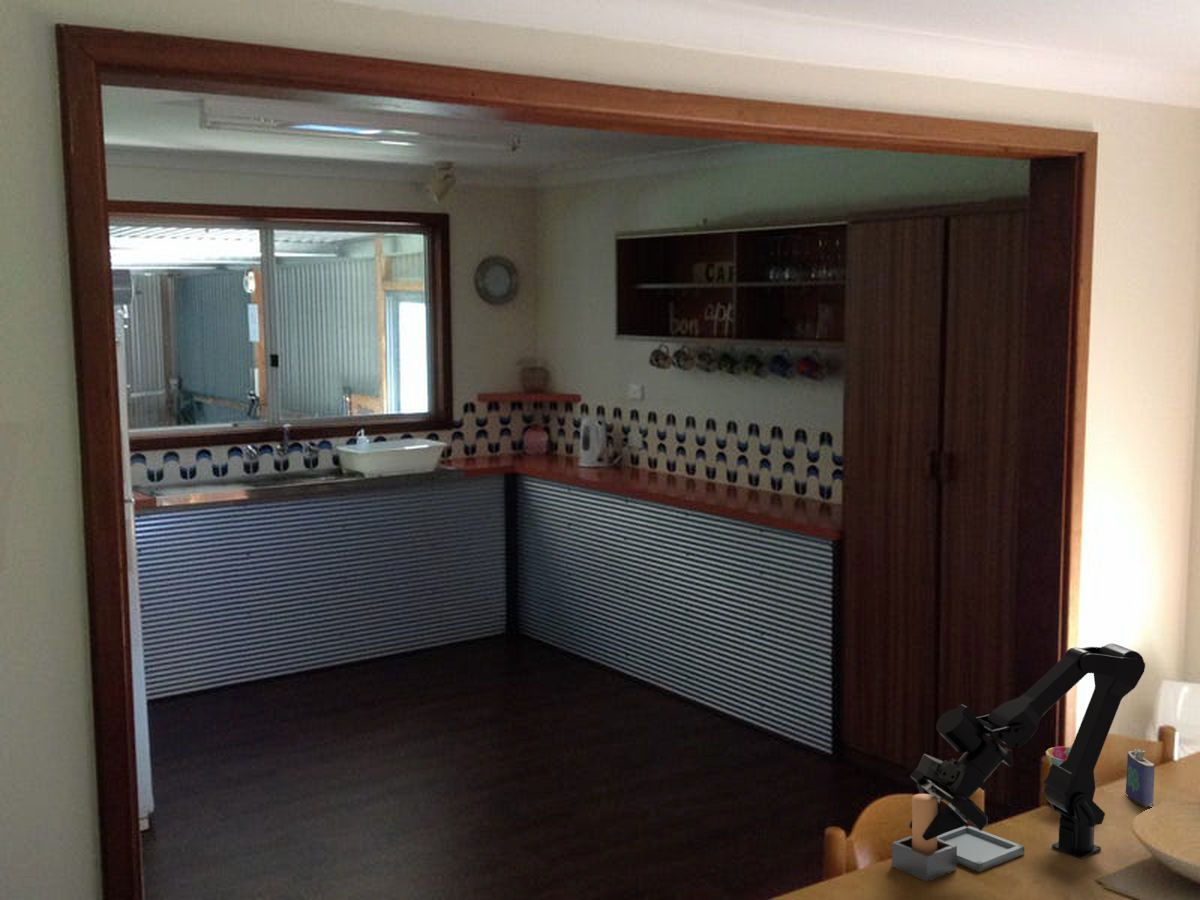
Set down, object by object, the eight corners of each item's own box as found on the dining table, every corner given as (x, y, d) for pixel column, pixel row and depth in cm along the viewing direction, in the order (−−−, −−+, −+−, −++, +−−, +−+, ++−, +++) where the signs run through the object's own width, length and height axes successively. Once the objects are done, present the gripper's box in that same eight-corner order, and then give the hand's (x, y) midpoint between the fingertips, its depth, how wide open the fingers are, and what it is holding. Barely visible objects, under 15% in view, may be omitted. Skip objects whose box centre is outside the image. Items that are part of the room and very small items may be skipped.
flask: (1155, 808, 259) (1157, 756, 258) (1141, 809, 259) (1143, 757, 258) (1135, 792, 269) (1136, 742, 268) (1121, 792, 268) (1122, 742, 267)
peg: (922, 861, 235) (923, 791, 234) (941, 869, 231) (943, 799, 230) (906, 867, 232) (907, 797, 231) (925, 875, 229) (926, 804, 227)
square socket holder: (921, 855, 237) (921, 831, 237) (956, 870, 231) (956, 845, 230) (891, 866, 233) (892, 842, 232) (927, 881, 226) (927, 857, 226)
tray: (966, 832, 248) (966, 824, 248) (1024, 854, 238) (1024, 846, 237) (921, 848, 240) (921, 841, 240) (979, 872, 230) (979, 864, 230)
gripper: (920, 724, 240) (865, 788, 238) (973, 756, 222) (914, 825, 220) (957, 761, 242) (903, 824, 241) (1013, 796, 224) (955, 864, 223)
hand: (917, 833), depth 231 cm, fingers closed on peg, 4 cm apart
